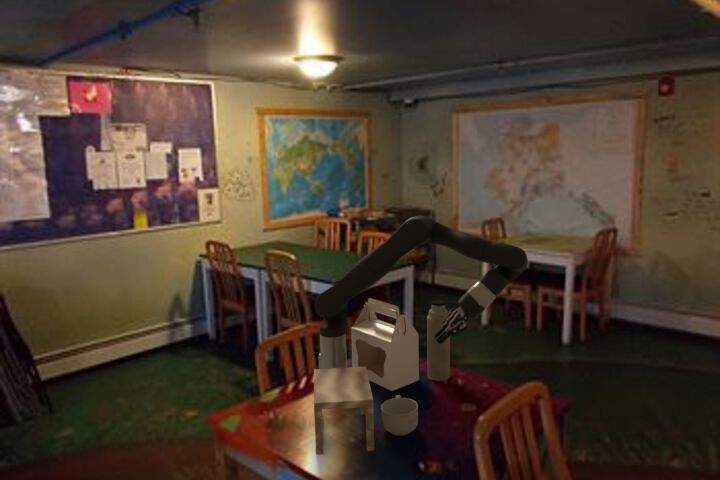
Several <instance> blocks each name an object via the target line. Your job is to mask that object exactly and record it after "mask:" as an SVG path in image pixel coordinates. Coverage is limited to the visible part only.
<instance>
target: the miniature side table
mask: <svg viewBox="0 0 720 480" xmlns="http://www.w3.org/2000/svg"><path fill="white" fill-rule="evenodd" d="M355 408H360V409H359V410H360V411H359V412H360V415H361V416H362V415H363V416H365V439H366V442H365V443H366V452H372V451H373V452H374V451H375V425H374V424H375V423H374V422H375V421H374V418H375V417H374V398H373V393H372V389H371V385H370V380H369V379H368V375H367V371H366V367H352V366H351V367H348V366H347V368H331V369H319V368H317V369H316V368H315V369H313V410H314V411H313V412H314V413H313V414H314V416H313V417H314V431H315V433H314V434H315V435H314V437H315V455H324V433H323V411H324V410H337V409H339V410H341V409H355Z"/></svg>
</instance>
